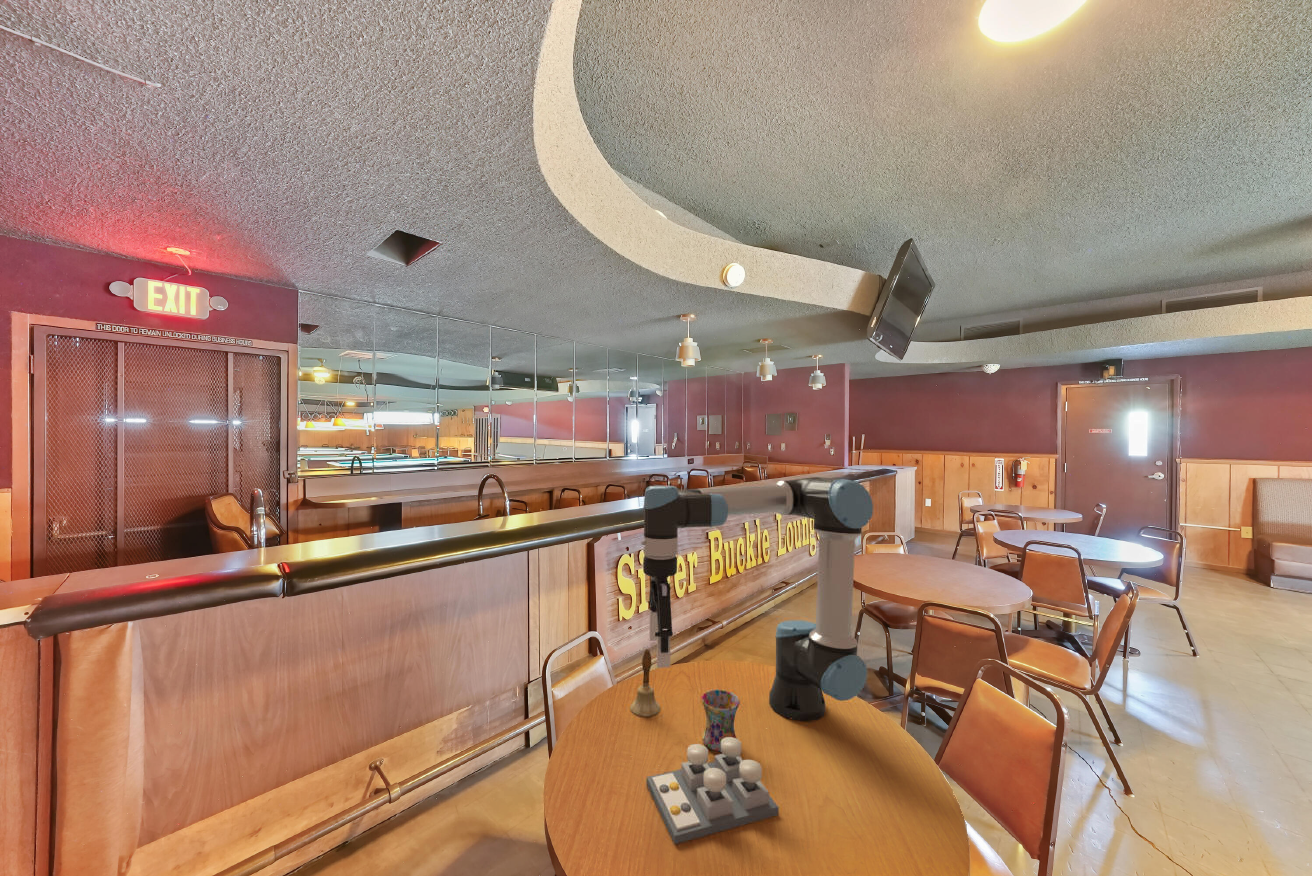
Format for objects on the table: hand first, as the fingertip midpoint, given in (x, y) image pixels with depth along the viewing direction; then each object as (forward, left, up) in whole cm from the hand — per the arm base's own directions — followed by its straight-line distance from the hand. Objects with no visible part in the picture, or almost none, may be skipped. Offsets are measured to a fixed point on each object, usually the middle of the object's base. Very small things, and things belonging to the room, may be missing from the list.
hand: (659, 652), depth 102 cm
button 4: (-7, +14, -23) cm, 28 cm away
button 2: (-15, +14, -23) cm, 31 cm away
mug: (-19, -7, -27) cm, 34 cm away
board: (-8, +10, -27) cm, 29 cm away
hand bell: (-6, -26, -27) cm, 38 cm away
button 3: (-7, +6, -23) cm, 25 cm away
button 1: (-15, +6, -23) cm, 28 cm away
